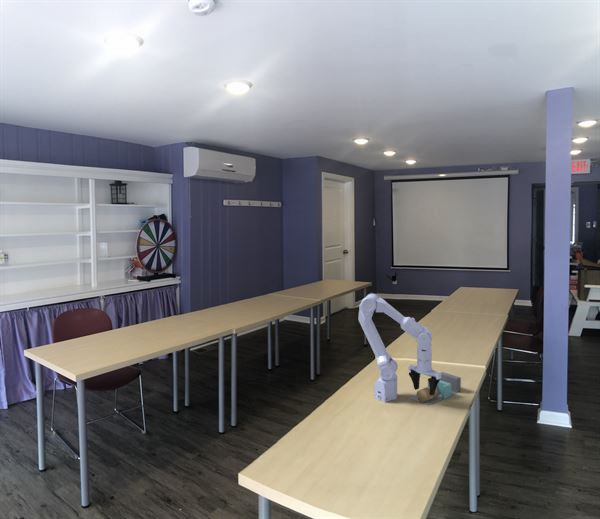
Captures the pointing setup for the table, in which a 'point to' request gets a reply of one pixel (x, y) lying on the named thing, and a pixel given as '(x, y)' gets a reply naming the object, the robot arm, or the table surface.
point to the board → (430, 399)
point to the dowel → (426, 394)
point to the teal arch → (443, 389)
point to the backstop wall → (452, 381)
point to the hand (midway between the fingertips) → (424, 391)
